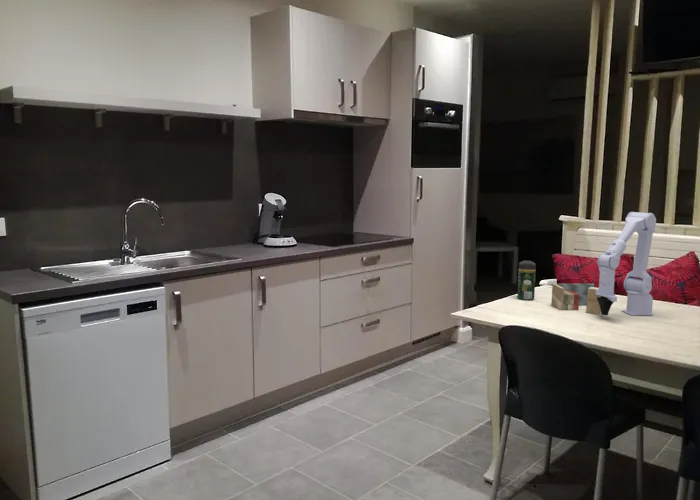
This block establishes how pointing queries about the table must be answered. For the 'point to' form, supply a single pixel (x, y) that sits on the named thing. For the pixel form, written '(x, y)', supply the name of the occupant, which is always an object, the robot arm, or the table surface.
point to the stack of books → (569, 295)
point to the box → (593, 301)
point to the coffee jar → (526, 280)
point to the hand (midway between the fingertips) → (604, 314)
